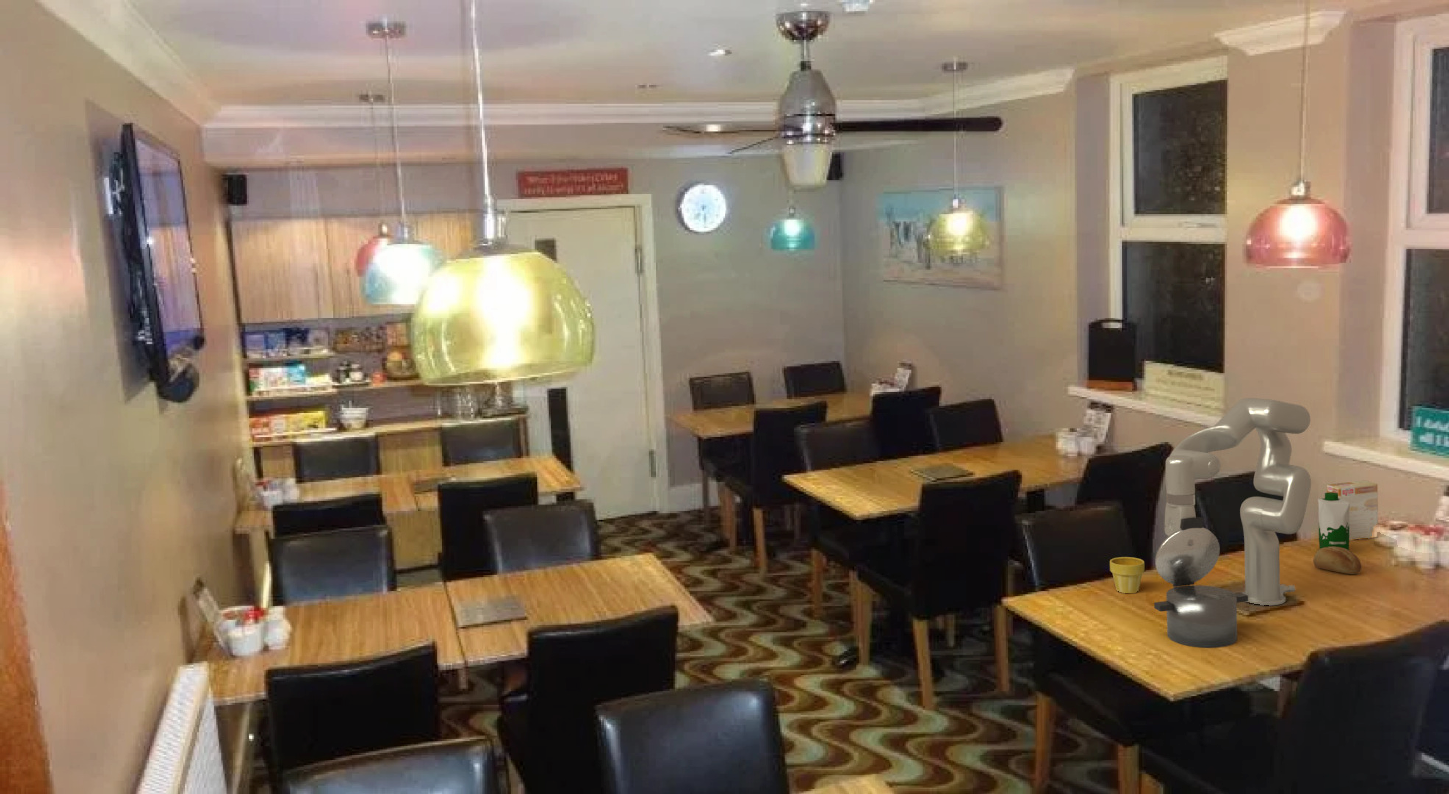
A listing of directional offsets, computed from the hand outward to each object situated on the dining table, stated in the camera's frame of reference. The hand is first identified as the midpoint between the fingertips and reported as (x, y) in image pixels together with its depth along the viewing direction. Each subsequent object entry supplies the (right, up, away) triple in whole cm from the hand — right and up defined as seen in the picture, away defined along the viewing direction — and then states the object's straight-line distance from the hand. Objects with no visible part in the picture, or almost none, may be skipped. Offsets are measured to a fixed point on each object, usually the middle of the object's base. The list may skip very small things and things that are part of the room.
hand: (1182, 561), depth 323 cm
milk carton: (+77, -6, +62) cm, 99 cm away
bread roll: (+67, -9, +42) cm, 79 cm away
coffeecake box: (+92, -3, +78) cm, 121 cm away
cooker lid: (0, +3, -4) cm, 5 cm away
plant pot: (-2, -15, +37) cm, 40 cm away
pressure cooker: (+3, -20, -7) cm, 21 cm away
